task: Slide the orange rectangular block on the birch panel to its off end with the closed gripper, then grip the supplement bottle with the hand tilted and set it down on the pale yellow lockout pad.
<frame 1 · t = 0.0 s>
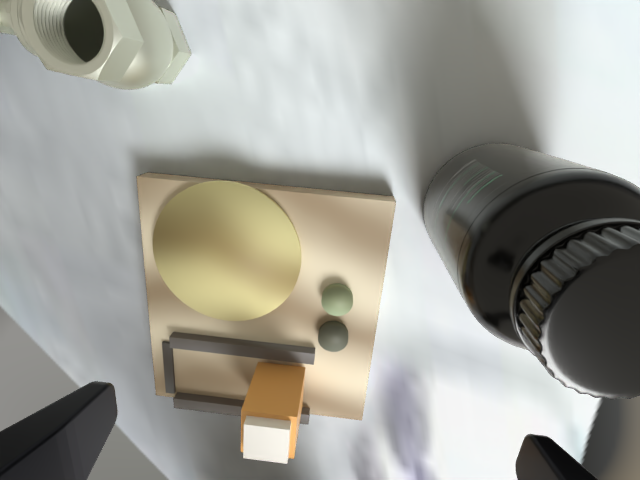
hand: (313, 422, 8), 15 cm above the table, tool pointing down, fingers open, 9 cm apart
panel: (264, 300, 24), on the table
valve: (84, 30, 20), on the table
supplement bottle: (483, 204, 21), on the table
orange rectangular block: (274, 411, 22), point 4 cm above the table, slide at 0.0 cm
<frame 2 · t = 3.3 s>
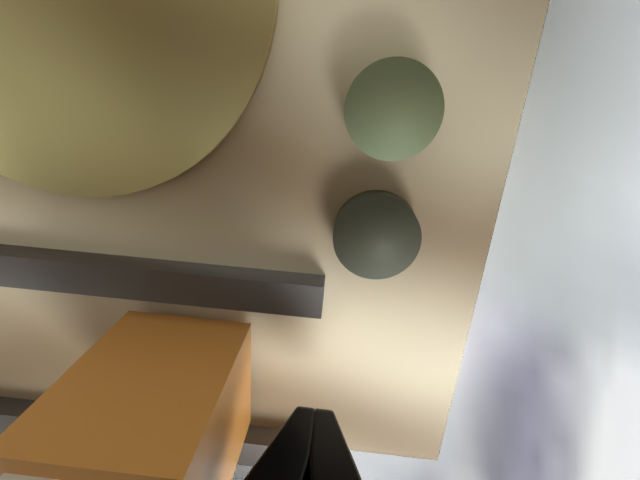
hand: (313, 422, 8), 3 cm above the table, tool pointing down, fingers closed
panel: (192, 158, 9), on the table
orange rectangular block: (147, 444, 8), point 4 cm above the table, slide at 1.2 cm, touching gripper
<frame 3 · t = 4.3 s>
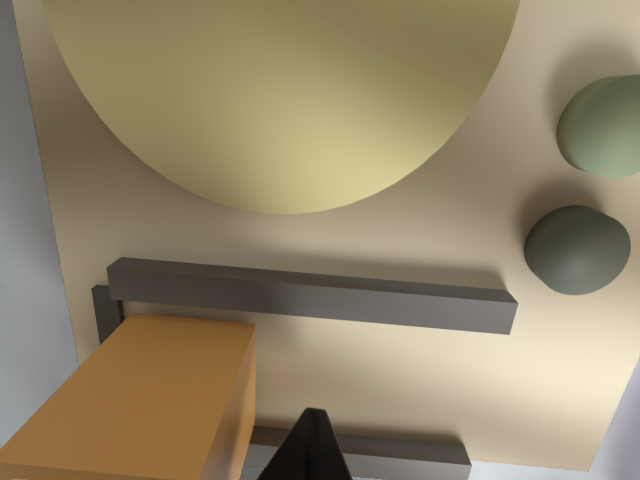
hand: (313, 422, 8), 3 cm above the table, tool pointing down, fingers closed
panel: (362, 172, 9), on the table
orange rectangular block: (155, 447, 8), point 4 cm above the table, slide at 5.2 cm, touching gripper
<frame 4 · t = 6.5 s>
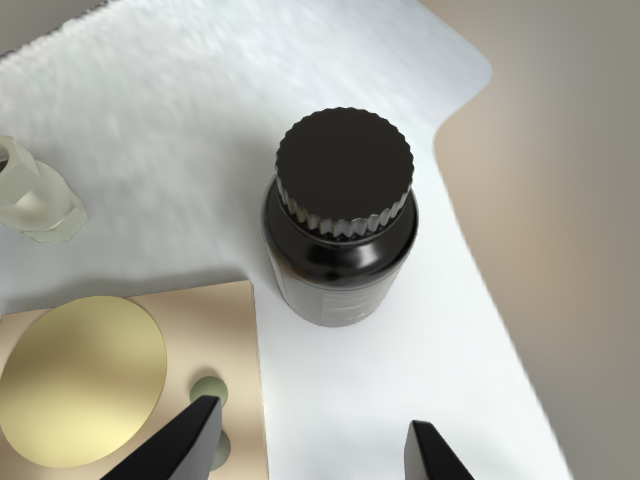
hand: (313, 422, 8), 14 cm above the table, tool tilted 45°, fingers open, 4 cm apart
panel: (131, 440, 20), on the table
valve: (3, 223, 26), on the table
supplement bottle: (332, 275, 24), on the table
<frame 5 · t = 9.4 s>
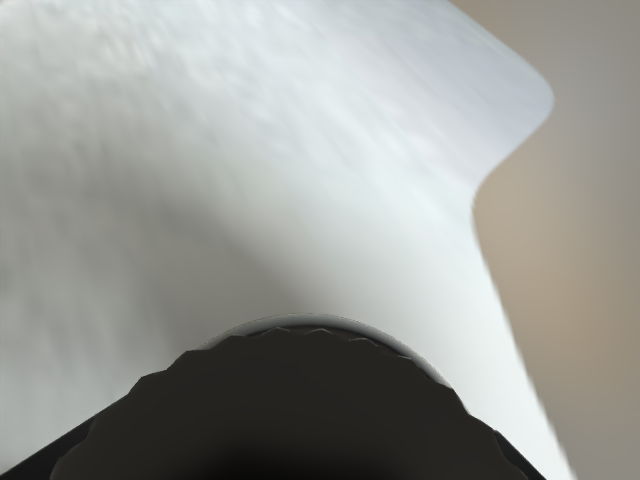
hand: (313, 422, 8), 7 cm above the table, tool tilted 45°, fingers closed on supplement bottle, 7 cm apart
supplement bottle: (310, 460, 14), on the table, touching gripper
when the fingers open (9 cm above the table, at t = 12.6 s): supplement bottle stays where it is, resting on panel.
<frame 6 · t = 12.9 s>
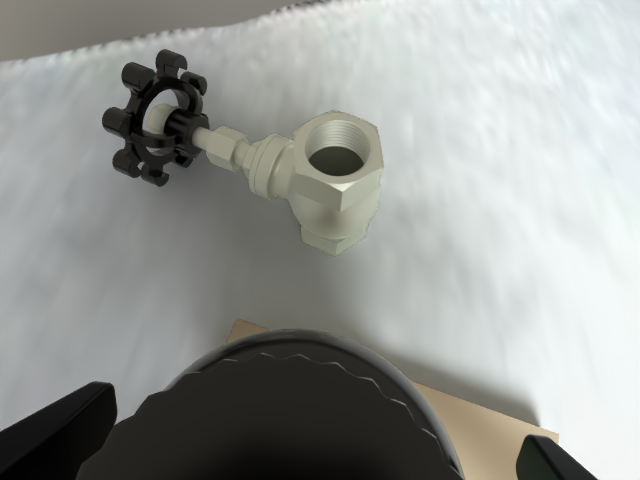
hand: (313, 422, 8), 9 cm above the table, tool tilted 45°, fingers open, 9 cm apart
valve: (268, 198, 21), on the table
supplement bottle: (303, 461, 15), point 1 cm above the table, touching panel
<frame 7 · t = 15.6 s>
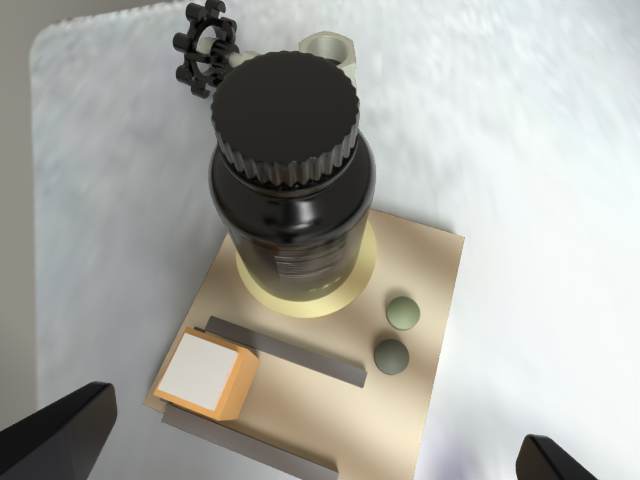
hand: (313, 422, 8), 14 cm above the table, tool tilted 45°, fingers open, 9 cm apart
panel: (318, 318, 23), on the table
valve: (279, 110, 30), on the table
supplement bottle: (301, 250, 23), point 1 cm above the table, touching panel
orange rectangular block: (211, 375, 18), point 4 cm above the table, slide at 5.0 cm
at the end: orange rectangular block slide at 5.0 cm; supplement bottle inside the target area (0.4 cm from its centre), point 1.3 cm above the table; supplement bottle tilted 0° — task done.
